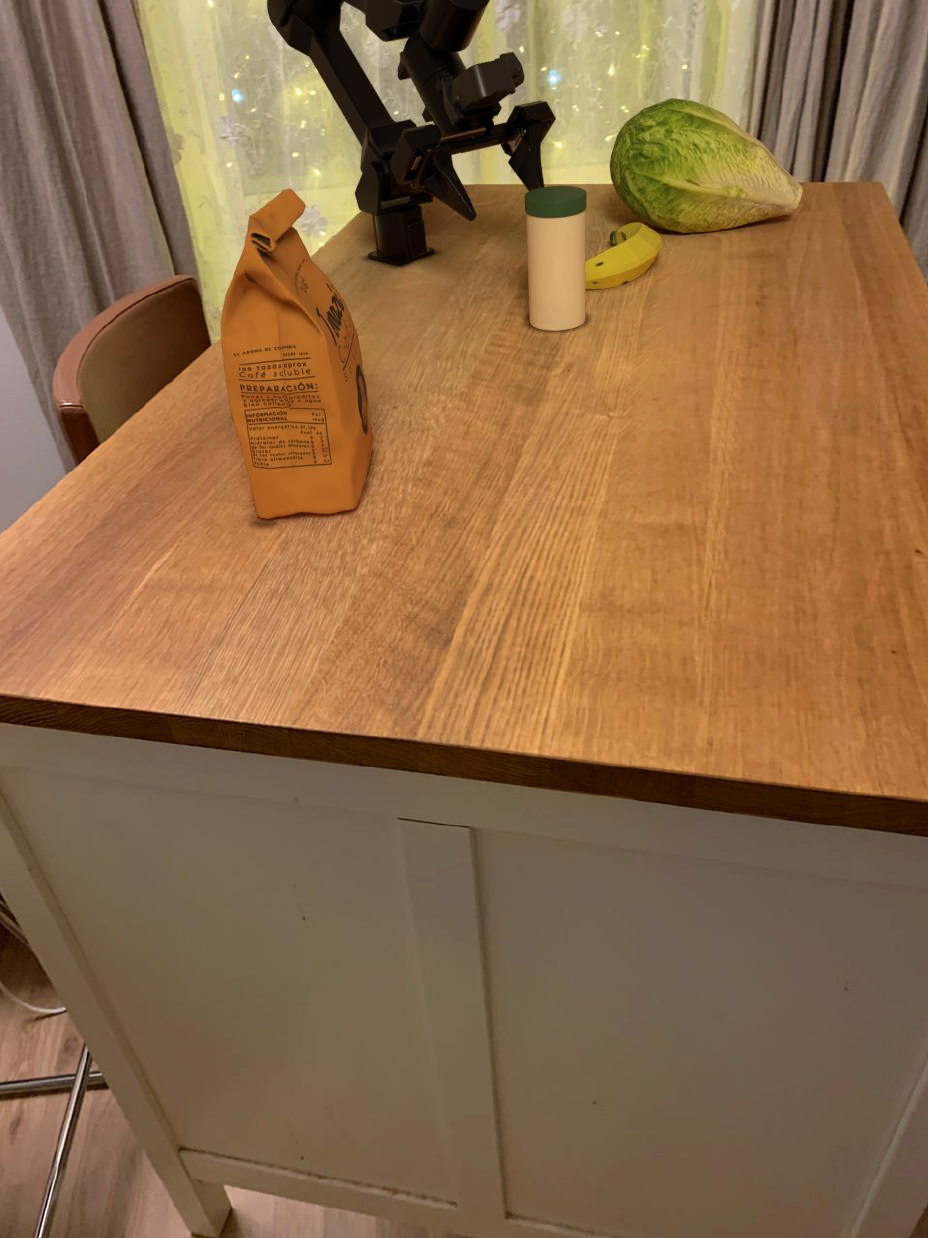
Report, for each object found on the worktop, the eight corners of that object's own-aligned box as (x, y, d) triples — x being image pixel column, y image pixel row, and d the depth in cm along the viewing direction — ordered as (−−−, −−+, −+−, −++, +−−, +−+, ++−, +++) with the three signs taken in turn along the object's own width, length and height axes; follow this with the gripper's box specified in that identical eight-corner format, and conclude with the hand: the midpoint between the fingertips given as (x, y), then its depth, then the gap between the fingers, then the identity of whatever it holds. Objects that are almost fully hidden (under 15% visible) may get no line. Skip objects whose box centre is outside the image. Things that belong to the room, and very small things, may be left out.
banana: (656, 207, 122) (537, 233, 125) (665, 240, 108) (531, 268, 111) (660, 244, 124) (544, 268, 127) (670, 282, 110) (538, 307, 113)
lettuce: (774, 235, 135) (776, 284, 124) (602, 182, 135) (588, 226, 124) (824, 123, 125) (832, 166, 113) (638, 66, 125) (627, 103, 113)
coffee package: (393, 449, 84) (358, 179, 71) (363, 527, 75) (315, 229, 61) (283, 450, 86) (228, 185, 73) (239, 525, 76) (165, 235, 63)
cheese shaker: (521, 329, 104) (516, 201, 96) (537, 308, 109) (534, 184, 101) (578, 332, 102) (577, 202, 94) (592, 311, 107) (593, 185, 99)
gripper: (391, 39, 95) (463, 179, 94) (543, 13, 102) (611, 142, 101) (362, 119, 105) (427, 246, 104) (502, 90, 112) (564, 208, 112)
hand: (508, 209), depth 105 cm, fingers open, 9 cm apart
